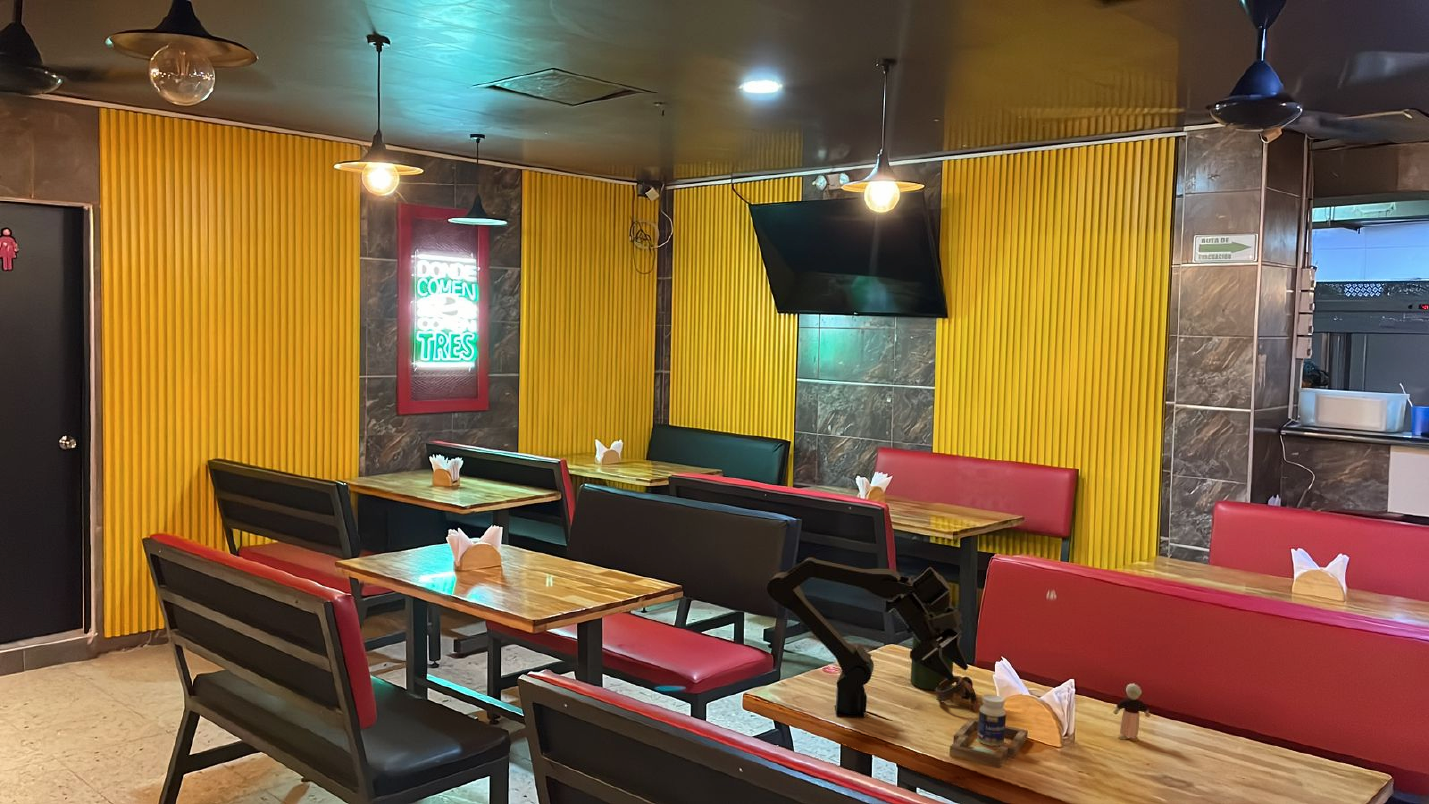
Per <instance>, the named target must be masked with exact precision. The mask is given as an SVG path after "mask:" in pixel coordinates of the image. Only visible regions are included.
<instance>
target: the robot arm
mask: <svg viewBox="0 0 1429 804" xmlns="http://www.w3.org/2000/svg"><path fill="white" fill-rule="evenodd" d="M810 578H814V579H815V578H816V579H821V580H825V581H829V582H833V583H838V584H839V583H840V584H844V585H847V586H852V587H856V588H857V587H858V588H860V589H862V590H865V591H867V592H869V593H870V594H872V595H874V596H877V597H880V598H882V599H885V600H886V601H885V609H884V613H886V614H887V613H891V612H893V610H894V611H895V612H896V613H897V615H898V616H899V617H900V619H901V620H902V622H903V623H904V624H905V625H906V627H907V628H906V630H905V631H906V632H907V634H911V633H912V636H913V635H914V636H915V637H916V638H917V640H918V641H919V642H920V643H919V644H918V646H916V647H915V648H914V649H913V650H912V649H911V650H909V659H911V662H912V661H913V662H914V663H915V664H916V663H917V662H919V661H920V660H921V659H922V660H923V661H922V662H920V663H919V665H922V666H924V667H926V668H928V669H930V670H932V671H934V672H936V673H938V674H940V675H941V676H943V677H945V678H947V679H948V680H950V681H952V680H953V679H954V676H955V675H954V673H953V674H952V672H951V670H950V669H949V667H948V665H947V664H946V662H945V660H944V659H943V657H942V654H943V655H945V656H946V657H947V658H949V659H950V660H951V661H952V662H953V664H955V665H956V666H958V668H960V669H962V670H963V671H966V670H968V668H969V666H968V664H967V661H966V658H965V655H964V653H963V651H962V648H961V646H960V642H961V637H962V629H961V628H960V627H959V626H960V625H962V624H963V622H962V621H963V620H962V618H961V617H962V616H963V615H962V614H963V613H961V612H960V610H959V609H957V608H956V607H955V606H954V605H952V606H949V607H948V608H946V609H945V614H942V615H939V616H936V615H935V614H934V613H933V612H930V613H928V612H927V610H926V609H925V608H924V607H923V603H924V604H928V603H929V604H930V605H932V604H933V603H935V602H936V601H937V600H938V599H940V598H941V597H942V596H944V595H945V594H946V593H947V592H949V593H950V591H951V587H950V585H949V583H948V582H947V581H946V580H945V578H944V577H943V576H942V575H940V574H939V572H937V571H936V570H934V569H933V567H931V566H929V567H928V568H927V569H926V570H925V571H924V572H923V573H922V574H920V575H919V576H918V577H917V578H916V579H914V578H911V577H907V576H903V575H900V574H899V572H898V571H897V570H895V569H891V568H868V569H867V568H859V567H854V566H851V565H849V566H848V565H844V564H839V563H835V562H831V561H825V560H820V559H817V558H815V557H807V558H806V559H804V561H802V562H801V563H799V564H798V565H796V566H794V567H792V568H791V569H790V570H788V571H785V572H783V571H782V572H781V571H780V572H778V573H776V574H775V575H774V576H773V577H772V578H771V579H770V581H769V582H768V583H767V586H766V590H767V591H766V593H767V595H768V597H769V598H770V599H771V600H772V601H773V602H775V603H776V604H778V605H779V606H780V607H781V608H783V609H785V610H787V611H790V612H791V613H793V614H794V615H795V616H796V617H797V619H798V620H800V622H802V624H803V625H804V626H805V627H806V628H807V629H808V630H809V631H810V632H811V633H812V634H813V635H814V636H815V637H816V638H817V639H818V640H819V642H820V643H821V644H822V645H823V646H824V647H825V648H826V649H827V650H828V651H829V652H830V653H831V654H832V655H833V656H834V657H835V659H836V661H837V663H838V665H839V669H840V670H841V672H840V674H839V676H838V678H837V681H836V692H835V694H836V696H835V705H834V710H835V715H836V717H841V718H842V717H845V718H863V719H864V718H865V714H866V713H867V702H868V701H867V700H868V698H867V697H868V696H867V693H866V692H865V691H866V689H865V685H866V684H867V685H868V683H869V682H870V680H871V678H872V675H873V672H874V668H875V666H874V661H873V659H872V654H871V653H869V652H868V651H866V650H865V648H864V647H863V645H862V644H861V643H858V644H856V646H854V645H852V644H851V643H848V642H847V641H846V640H845V638H844V637H843V636H842V635H840V633H839V632H838V631H837V630H836V629H835V628H834V627H833V626H832V625H831V624H830V623H829V622H828V620H827V619H825V617H824V616H822V614H820V612H819V611H818V610H817V609H816V608H815V606H813V604H811V603H810V601H808V600H807V598H806V596H805V594H804V592H803V590H802V589H801V584H803V583H804V582H806V581H807V580H809V579H810ZM897 595H898V596H897ZM893 598H894V599H893ZM891 599H892V600H891ZM937 648H938V649H937Z"/></svg>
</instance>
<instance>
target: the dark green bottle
mask: <svg viewBox="0 0 1429 804" xmlns="http://www.w3.org/2000/svg"><path fill="white" fill-rule="evenodd" d="M950 601H951V596H950V591H949V592H947V593H946V594H945V595H944V596H942V597H941V598H940V599H938V600H937V601H936V602H935V603H933V604H932V605H930V604H929V603H928V604H924V603H922V605H923V607H924V608H925V609H926V610H927V612H928V613H930V612H933V613H934V614H935V615H936V616H939V615H942V614H945V609H946V608H948V607H950V603H951V602H950ZM919 643H920V642H919V641H918V640H917V638H916V637H915V636H914V635H913V634H912V649H911V650H913V649H914V648H915V647H916V646H918V644H919ZM937 649H938V648H937ZM942 657H943V659H944V660H945V662H946V664H947V665H948V667H949V669H950V670H951V672H952V674H953V675H954V673H953V672H954V662H952V661H951V660H950V659H949V658H947V657H946V656H945V655H943V654H942ZM922 661H923V660H922V659H921V660H920V661H919V662H917V663H916V664H915V663H914V662H913V661H912V660H911V665H910V683H911V684H912V685H913V686H914V687H917V688H920V689H922V690H928V691H935V689H936V688H937V687H939V689H940V686H939V684H940V683H941V682H942V681H944V680H946V679H947V678H945V677H943V676H941V675H940V674H938V673H936V672H934V671H932V670H930V669H928V668H926V667H924V666H922V665H919V663H920V662H922ZM951 687H953V684H951V685H949V686H947V687H945V688H944V689H943V690H947V689H949V688H951ZM943 690H942V691H943Z"/></svg>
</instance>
